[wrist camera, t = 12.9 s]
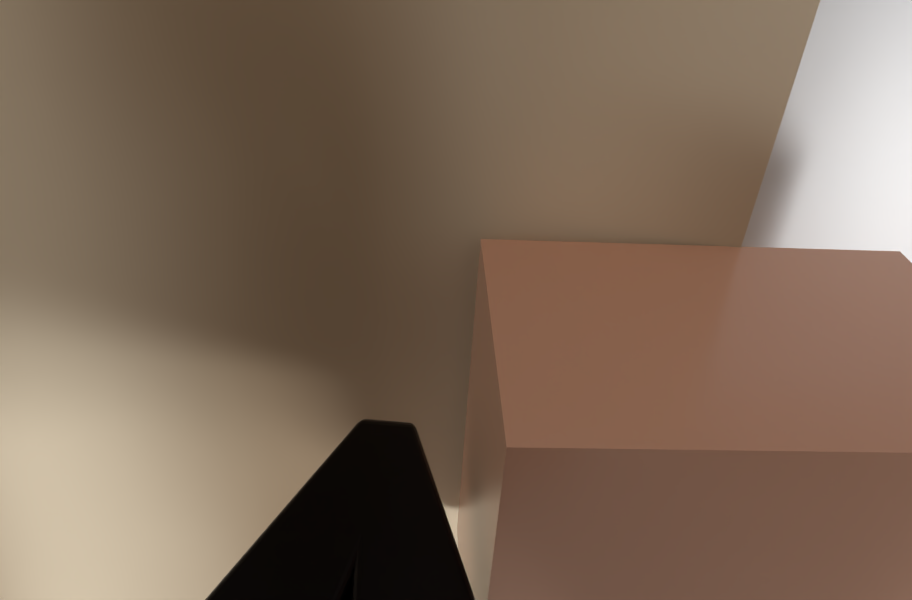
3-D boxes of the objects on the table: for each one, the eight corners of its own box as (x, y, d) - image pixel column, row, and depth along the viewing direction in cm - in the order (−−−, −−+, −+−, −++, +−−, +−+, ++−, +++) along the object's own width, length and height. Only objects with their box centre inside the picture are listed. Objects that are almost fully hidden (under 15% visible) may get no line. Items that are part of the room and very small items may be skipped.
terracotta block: (457, 527, 10) (467, 759, 8) (481, 239, 8) (506, 447, 5) (778, 529, 11) (885, 755, 8) (900, 251, 8) (1106, 454, 6)
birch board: (145, 691, 20) (91, 823, 17) (-105, -191, 9) (-341, -181, 7) (537, 731, 19) (540, 870, 17) (753, -117, 9) (844, -77, 6)
